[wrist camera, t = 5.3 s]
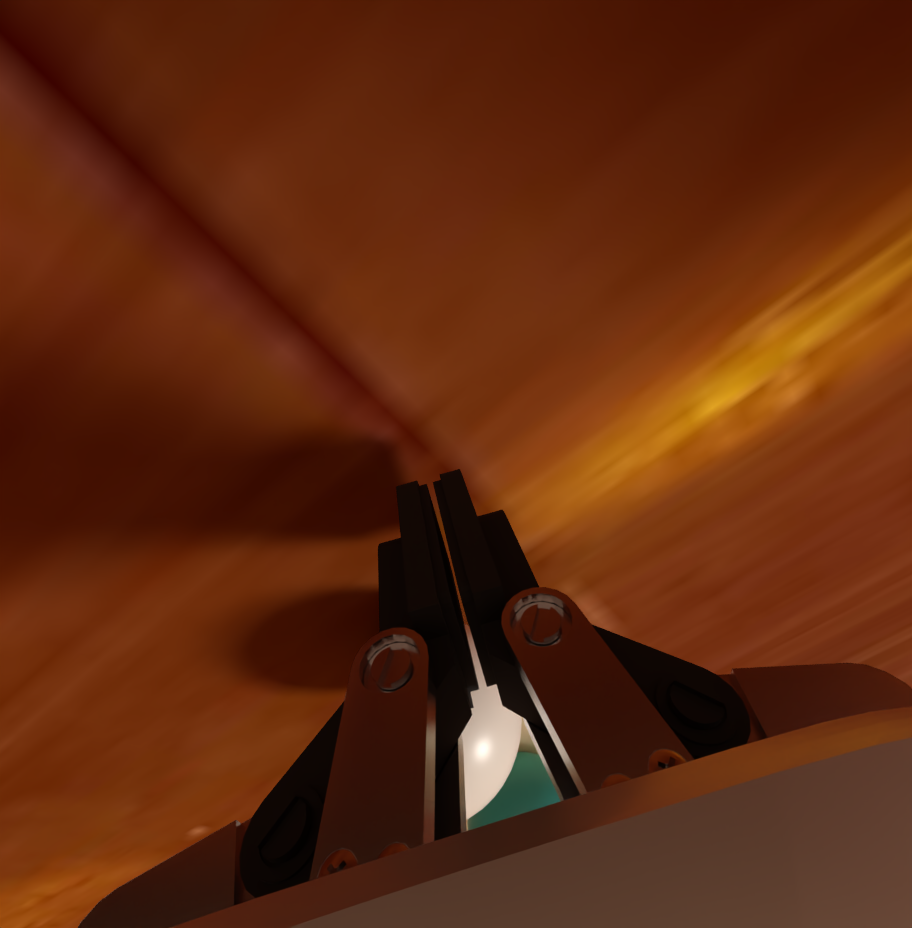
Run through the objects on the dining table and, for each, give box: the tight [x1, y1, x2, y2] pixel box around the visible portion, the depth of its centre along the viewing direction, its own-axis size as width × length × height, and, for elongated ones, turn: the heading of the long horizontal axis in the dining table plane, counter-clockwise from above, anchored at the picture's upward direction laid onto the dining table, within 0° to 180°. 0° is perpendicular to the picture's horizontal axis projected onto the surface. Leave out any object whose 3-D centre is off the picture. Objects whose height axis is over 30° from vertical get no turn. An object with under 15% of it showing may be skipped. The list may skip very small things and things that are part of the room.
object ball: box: [467, 752, 560, 830], centre depth 19 cm, size 6×6×6 cm
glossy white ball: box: [344, 624, 522, 820], centre depth 13 cm, size 6×6×6 cm
